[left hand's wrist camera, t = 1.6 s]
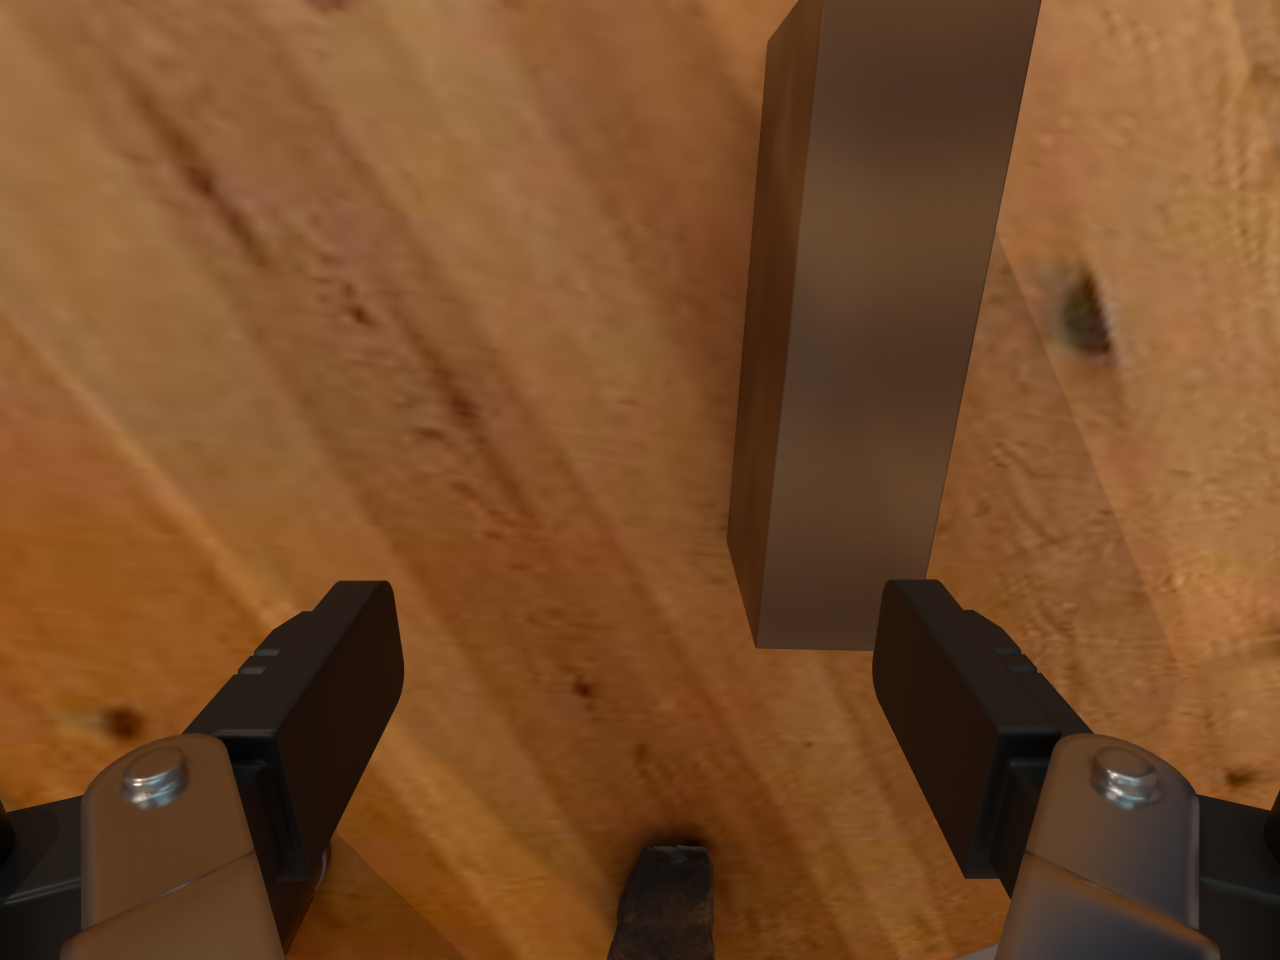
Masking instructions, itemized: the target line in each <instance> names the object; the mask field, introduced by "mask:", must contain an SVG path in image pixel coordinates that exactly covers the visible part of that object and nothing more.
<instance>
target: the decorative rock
mask: <svg viewBox="0 0 1280 960" xmlns="http://www.w3.org/2000/svg"><path fill="white" fill-rule="evenodd" d="M713 893H714V880H713V868H712V865H711V860H710V855H709V852H708V850H707V849H706V848H704V847H702V846H698V847H696V846H683V845H677V846H674V847H671V846H660V847H657V846H653V848H650V847H648V846H647V847H645V848H643V850H642V852H641V855H640V856H639V858H638V861H637V863H636V865H635V867H634V868H633V870H632V871H631V873H630V875H629V878H628V882H627V887H626V888H625V890H624V891H623V893H622V894H621V896H620V900H619V904H618V909H617V920H618V925H617V929H616V932H615V936H614V939H613V941H612V943H611V946H610V949H609V952H608V956H607V960H715V959H714V956H715V948H714V943H713V938H712V930H713V925H714V915H713Z"/></svg>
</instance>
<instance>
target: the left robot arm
mask: <svg viewBox="0 0 1280 960" xmlns="http://www.w3.org/2000/svg"><path fill="white" fill-rule="evenodd" d="M872 674H873V683H874V689H875V693H876V696H877V699H878V701H879V703H880V705H881V707H882V709H883V712H884V714H885V716H886V718H887V720H888V722H889V724H890V726H891V728H892V730H893V732H894V734H895V736H896V738H897V740H898V742H899V744H900V746H901V748H902V750H903V752H904V755H905V757H906V759H907V761H908V763H909V765H910V767H911V769H912V771H913V773H914V775H915V777H916V779H917V781H918V783H919V785H920V787H921V789H922V791H923V793H924V795H925V798H926V800H927V802H928V804H929V806H930V808H931V810H932V812H933V814H934V816H935V818H936V820H937V822H938V824H939V826H940V828H941V830H942V832H943V834H944V836H945V838H946V841H947V843H948V845H949V847H950V849H951V851H952V853H953V855H954V857H955V859H956V861H957V863H958V865H959V867H960V869H961V871H962V873H963V875H964V877H965V879H1000V881H1001V883H1002V884H1003V886H1004V888H1005V890H1006V892H1007V894H1008V895H1009V897H1010V899H1011V902H1010V906H1009V909H1008V913H1007V916H1006V920H1005V924H1004V927H1003V931H1002V934H1001V938H1000V942H999V945H998V949H997V953H996V956H995V960H1280V791H1279V793H1278V795H1277V798H1276V800H1275V802H1274V804H1273V807H1272V809H1271V811H1270V810H1265V809H1261V808H1256V807H1252V806H1247V805H1243V804H1238V803H1234V802H1229V801H1225V800H1221V799H1216V798H1212V797H1207V796H1203V795H1198V794H1196V792H1195V790H1194V789H1193V787H1192V786H1191V784H1190V783H1189V782H1188V781H1187V780H1186V778H1185V777H1184V776H1183V775H1182V774H1181V773H1180V772H1179V771H1177V770H1176V769H1175V768H1174V767H1173V766H1172V765H1170V764H1169V763H1167V762H1166V761H1165V760H1163V759H1162V758H1160V757H1158V756H1157V755H1155V754H1153V753H1152V752H1150V751H1148V750H1146V749H1144V748H1142V747H1140V746H1137V745H1135V744H1132V743H1130V742H1127V741H1124V740H1121V739H1118V738H1115V737H1110V736H1106V735H1100V734H1094V733H1093V732H1092V731H1091V730H1090V729H1089V727H1088V726H1087V725H1086V724H1085V723H1084V722H1083V720H1082V719H1081V718H1080V717H1079V716H1078V715H1077V714H1076V712H1075V711H1074V710H1073V709H1072V708H1071V707H1070V706H1069V704H1068V703H1067V702H1066V701H1065V700H1064V699H1063V698H1062V696H1061V695H1060V694H1059V693H1058V692H1057V691H1056V689H1055V688H1054V687H1053V686H1052V685H1051V684H1050V683H1049V681H1048V680H1047V679H1046V678H1045V677H1044V676H1043V675H1042V673H1037V668H1036V667H1035V665H1034V664H1033V663H1032V662H1031V661H1030V660H1029V659H1028V657H1027V656H1026V655H1025V654H1021V649H1020V648H1019V647H1018V646H1017V645H1016V644H1015V642H1014V641H1013V640H1012V639H1011V638H1010V637H1009V636H1008V634H1007V633H1006V632H1005V631H1004V630H1003V629H1002V628H1001V627H999V626H998V625H996V624H994V623H993V622H991V621H990V620H988V619H986V618H985V617H983V616H982V615H980V614H979V613H977V612H975V611H974V610H963V609H962V608H961V607H960V605H959V604H958V603H957V602H956V601H955V599H954V598H953V597H952V596H951V594H950V593H949V592H948V591H947V589H946V588H945V587H944V586H943V585H942V583H941V582H940V581H938V580H935V579H891V580H888V581H887V582H886V584H885V586H884V589H883V593H882V599H881V606H880V613H879V620H878V627H877V634H876V641H875V648H874V654H873V663H872ZM403 680H404V660H403V653H402V646H401V639H400V632H399V626H398V619H397V612H396V605H395V599H394V593H393V589H392V587H391V585H390V583H389V582H388V581H338V582H336V583H335V584H334V586H333V587H332V588H331V589H330V590H329V592H328V593H327V594H326V595H325V597H324V598H323V599H322V600H321V601H320V603H319V604H318V605H317V606H316V607H315V609H314V610H313V611H302V612H301V613H299V614H298V615H296V616H294V617H293V618H291V619H290V620H288V621H286V622H285V623H283V624H282V625H280V626H279V627H277V628H275V629H274V630H273V631H272V632H271V633H270V634H269V635H268V636H267V637H266V639H265V640H264V641H263V642H262V643H261V644H260V645H259V647H258V648H257V649H256V650H255V651H254V656H250V657H249V658H248V659H247V660H246V661H245V662H244V664H243V665H242V666H241V667H240V668H239V669H238V674H237V675H233V676H232V677H231V678H230V680H229V681H228V682H227V683H226V684H225V685H224V686H223V687H222V689H221V690H220V691H219V692H218V693H217V694H216V695H215V697H214V698H213V699H212V700H211V701H210V702H209V703H208V705H207V706H206V707H205V708H204V709H203V710H202V711H201V712H200V714H199V715H198V716H197V717H196V718H195V719H194V720H193V722H192V723H191V724H190V725H189V726H188V727H187V728H186V730H185V731H184V732H183V733H182V734H180V735H174V736H170V737H165V738H162V739H159V740H156V741H153V742H150V743H148V744H145V745H143V746H140V747H138V748H136V749H134V750H132V751H130V752H128V753H127V754H125V755H123V756H122V757H120V758H118V759H117V760H115V761H114V762H113V763H111V764H110V765H108V766H107V767H106V768H105V769H104V770H103V771H101V772H100V773H99V774H98V775H97V776H96V777H95V778H94V780H93V781H92V782H91V783H90V784H89V786H88V787H87V789H86V790H85V792H84V795H81V796H77V797H73V798H69V799H64V800H60V801H56V802H51V803H47V804H42V805H38V806H33V807H29V808H24V809H20V810H16V811H11V812H7V813H6V811H5V809H4V807H3V804H2V802H1V800H0V960H285V956H286V954H287V952H288V950H289V948H290V946H291V943H292V941H293V939H294V937H295V935H296V933H297V931H298V929H299V927H300V925H301V922H302V920H303V918H304V916H305V914H306V912H307V910H308V908H309V906H310V904H311V901H312V899H313V894H314V892H315V891H316V890H317V888H318V887H319V885H320V883H321V881H322V879H323V877H324V875H325V873H326V871H327V868H328V865H329V861H330V848H329V844H328V843H329V841H330V839H331V837H332V835H333V833H334V831H335V829H336V827H337V825H338V823H339V821H340V819H341V817H342V815H343V813H344V811H345V809H346V807H347V805H348V803H349V801H350V799H351V796H352V794H353V792H354V790H355V788H356V786H357V784H358V782H359V780H360V778H361V776H362V774H363V772H364V770H365V768H366V766H367V764H368V762H369V760H370V758H371V756H372V754H373V752H374V750H375V748H376V746H377V744H378V742H379V740H380V738H381V736H382V734H383V732H384V730H385V728H386V726H387V724H388V722H389V720H390V718H391V716H392V714H393V712H394V709H395V707H396V705H397V703H398V701H399V699H400V695H401V692H402V687H403Z"/></svg>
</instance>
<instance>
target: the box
mask: <svg viewBox="0 0 1280 960" xmlns="http://www.w3.org/2000/svg"><path fill="white" fill-rule="evenodd" d="M1040 5H1041V0H798V1H797V3H796V4H795V6H794V7H793V8H792V10H791V11H790V12H789V14H788V15H787V16H786V18H785V19H784V20H783V22H782V23H781V24H780V26H779V27H778V28H777V30H776V31H775V32H774V34H773V35H772V36H771V38H770V39H769V40H768V45H767V57H766V70H765V82H764V94H763V106H762V119H761V131H760V143H759V155H758V168H757V180H756V192H755V204H754V217H753V229H752V241H751V253H750V266H749V278H748V290H747V302H746V315H745V327H744V339H743V351H742V364H741V376H740V388H739V400H738V413H737V425H736V437H735V449H734V462H733V474H732V486H731V498H730V511H729V523H728V535H727V544H728V548H729V551H730V555H731V559H732V563H733V566H734V570H735V574H736V577H737V581H738V585H739V588H740V592H741V596H742V600H743V603H744V607H745V611H746V614H747V618H748V622H749V625H750V629H751V633H752V636H753V640H754V644H755V647H756V648H771V649H815V650H858V651H874V648H875V641H876V634H877V627H878V620H879V613H880V606H881V599H882V593H883V589H884V586H885V584H886V582H887V581H888V580H891V579H926V574H927V569H928V564H929V559H930V554H931V549H932V544H933V539H934V534H935V529H936V524H937V519H938V514H939V509H940V504H941V499H942V494H943V489H944V484H945V479H946V474H947V469H948V464H949V459H950V454H951V449H952V444H953V439H954V434H955V429H956V424H957V419H958V414H959V409H960V404H961V399H962V394H963V389H964V384H965V380H966V375H967V370H968V365H969V360H970V355H971V350H972V345H973V340H974V335H975V330H976V325H977V320H978V315H979V310H980V305H981V300H982V295H983V290H984V285H985V280H986V275H987V270H988V265H989V260H990V255H991V250H992V245H993V240H994V235H995V230H996V225H997V220H998V215H999V210H1000V205H1001V200H1002V195H1003V190H1004V185H1005V180H1006V175H1007V170H1008V165H1009V160H1010V155H1011V150H1012V145H1013V140H1014V135H1015V130H1016V125H1017V120H1018V115H1019V110H1020V105H1021V100H1022V95H1023V90H1024V85H1025V80H1026V75H1027V70H1028V65H1029V60H1030V55H1031V50H1032V45H1033V40H1034V35H1035V30H1036V25H1037V20H1038V15H1039V10H1040Z"/></svg>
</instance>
